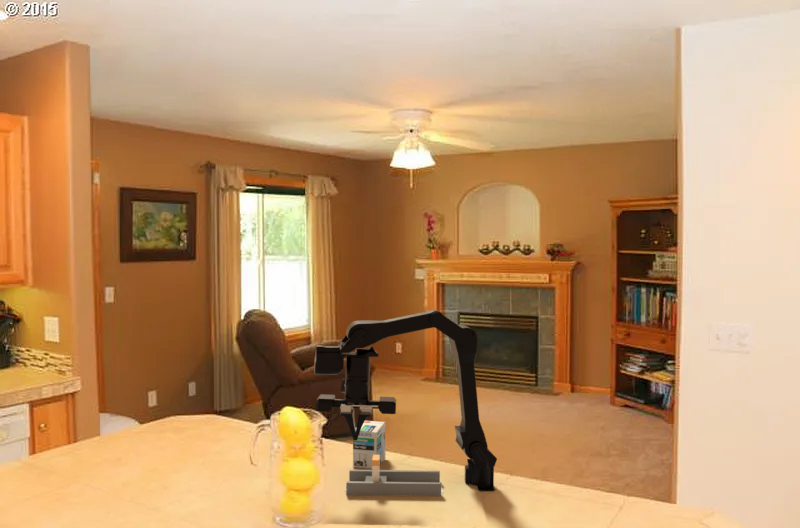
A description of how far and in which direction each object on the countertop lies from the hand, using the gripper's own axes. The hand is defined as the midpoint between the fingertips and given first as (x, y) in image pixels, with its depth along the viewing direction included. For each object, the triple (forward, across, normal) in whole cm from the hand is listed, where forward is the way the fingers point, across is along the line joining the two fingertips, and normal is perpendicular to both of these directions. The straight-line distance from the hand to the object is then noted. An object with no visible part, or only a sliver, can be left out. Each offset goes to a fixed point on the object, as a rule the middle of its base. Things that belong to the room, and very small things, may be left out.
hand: (355, 439), depth 161 cm
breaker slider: (+11, -5, 0) cm, 13 cm away
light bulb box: (+13, -3, -19) cm, 23 cm away
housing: (+12, -10, 0) cm, 16 cm away
